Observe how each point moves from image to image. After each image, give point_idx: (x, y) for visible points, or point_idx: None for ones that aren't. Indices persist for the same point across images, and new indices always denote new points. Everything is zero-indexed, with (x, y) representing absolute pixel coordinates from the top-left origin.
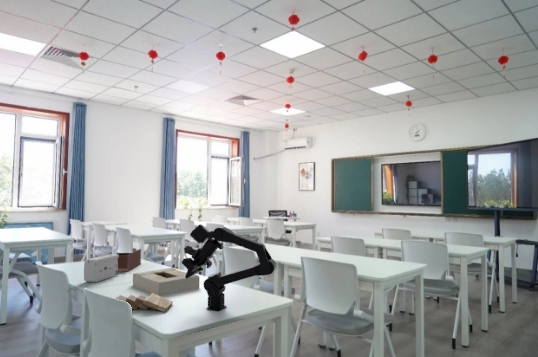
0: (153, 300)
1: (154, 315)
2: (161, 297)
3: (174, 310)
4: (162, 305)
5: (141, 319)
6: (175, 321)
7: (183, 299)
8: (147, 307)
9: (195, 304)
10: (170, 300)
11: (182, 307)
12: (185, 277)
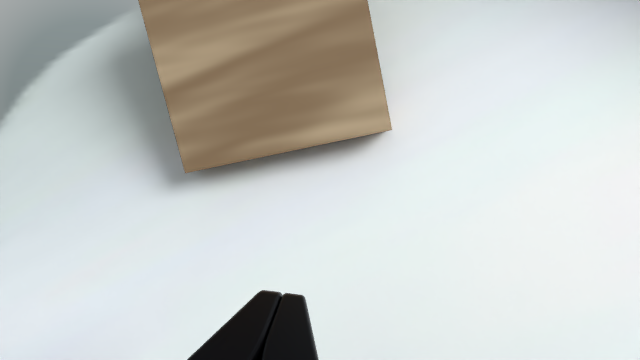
0: (202, 17)
1: (122, 130)
2: (351, 15)
3: (243, 223)
4: (202, 121)
5: (45, 90)
6: (7, 344)
7: (584, 155)
8: None
9: (442, 348)
10: (386, 103)
11: (330, 257)
12: (262, 300)
